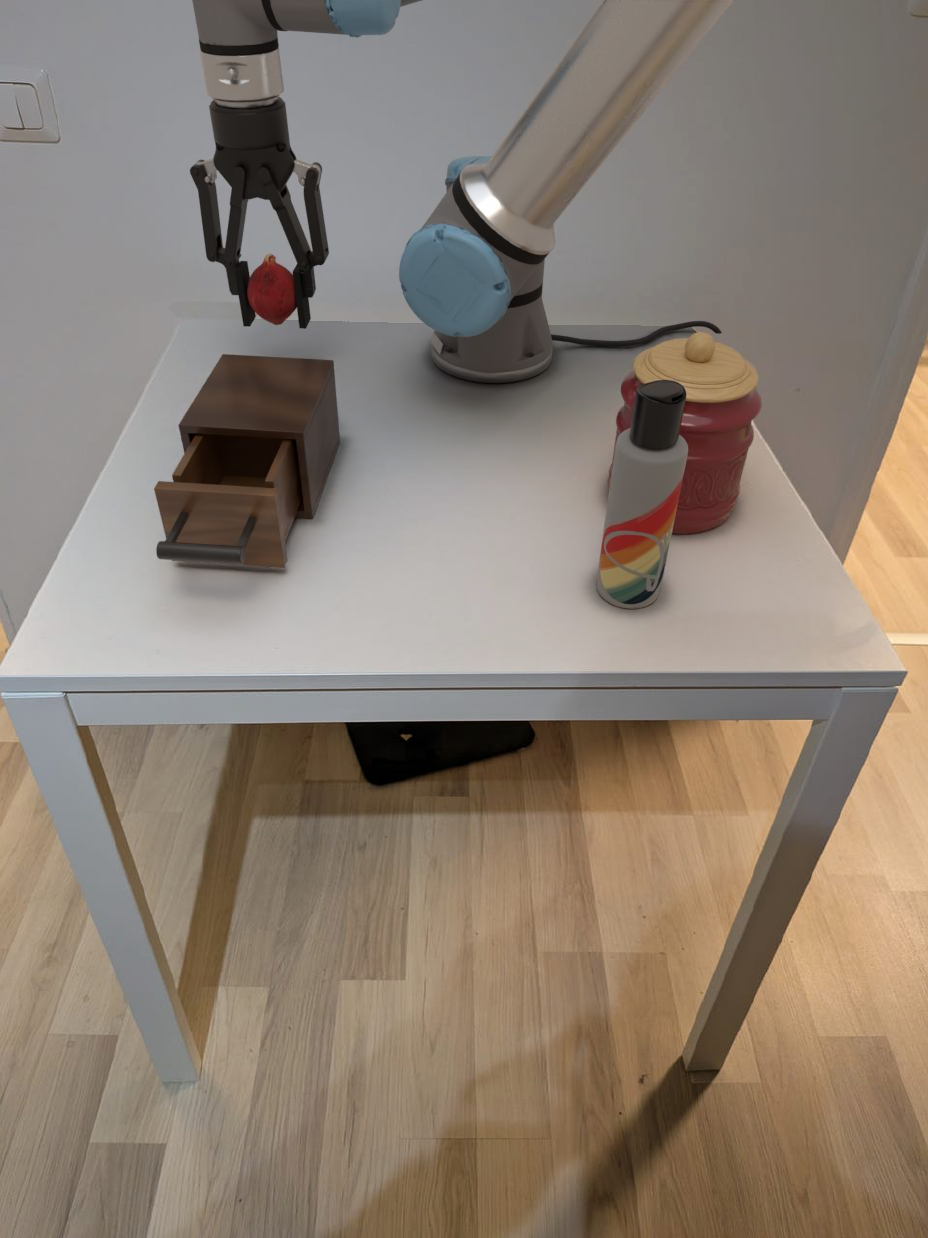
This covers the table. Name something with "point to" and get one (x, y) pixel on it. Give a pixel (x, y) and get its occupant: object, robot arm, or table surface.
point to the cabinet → (273, 411)
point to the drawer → (231, 501)
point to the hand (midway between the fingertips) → (277, 322)
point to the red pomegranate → (272, 291)
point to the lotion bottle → (643, 497)
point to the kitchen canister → (702, 421)
